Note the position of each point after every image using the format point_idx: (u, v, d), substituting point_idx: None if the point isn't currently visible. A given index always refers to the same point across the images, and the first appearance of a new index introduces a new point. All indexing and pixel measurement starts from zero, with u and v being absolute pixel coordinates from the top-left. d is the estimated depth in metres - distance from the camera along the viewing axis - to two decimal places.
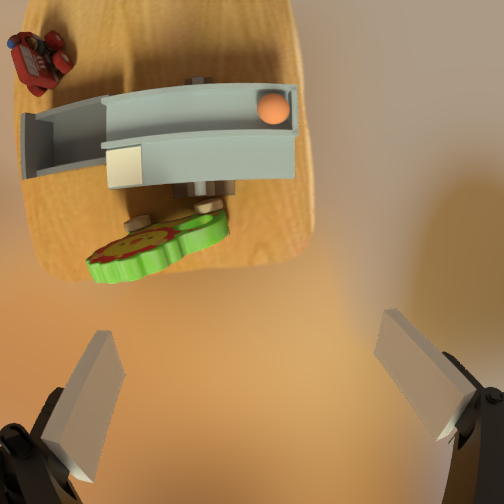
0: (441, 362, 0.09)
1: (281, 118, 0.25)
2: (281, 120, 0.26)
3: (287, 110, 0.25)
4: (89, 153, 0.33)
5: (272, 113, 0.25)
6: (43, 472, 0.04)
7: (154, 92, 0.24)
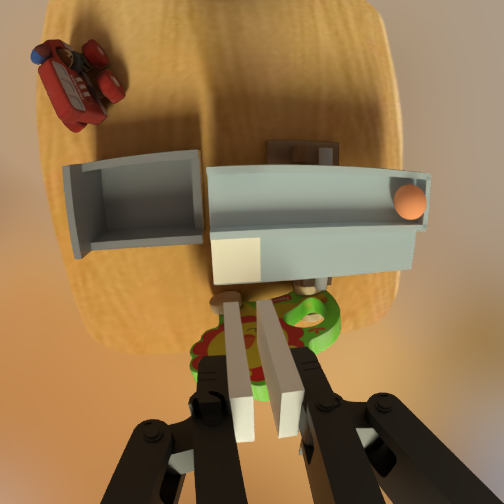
0: (280, 355, 0.10)
1: None
2: (418, 217, 0.23)
3: (425, 207, 0.22)
4: (158, 216, 0.30)
5: (415, 212, 0.22)
6: (231, 443, 0.07)
7: (285, 170, 0.21)
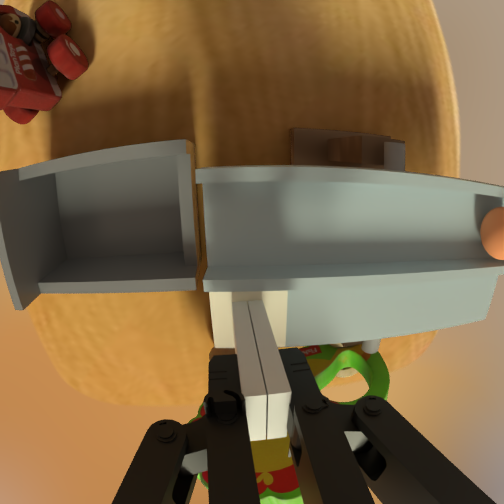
0: (268, 356, 0.10)
1: None
2: None
3: None
4: (133, 240, 0.20)
5: None
6: (245, 442, 0.07)
7: (336, 177, 0.11)
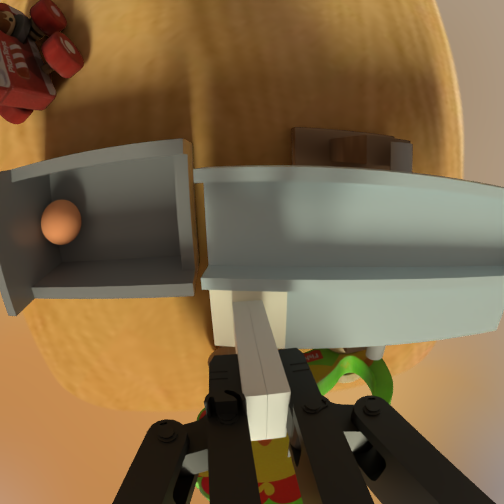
0: (268, 356, 0.10)
1: (66, 240, 0.16)
2: (68, 241, 0.17)
3: (71, 227, 0.16)
4: (129, 243, 0.20)
5: (51, 237, 0.16)
6: (245, 442, 0.07)
7: (334, 177, 0.11)
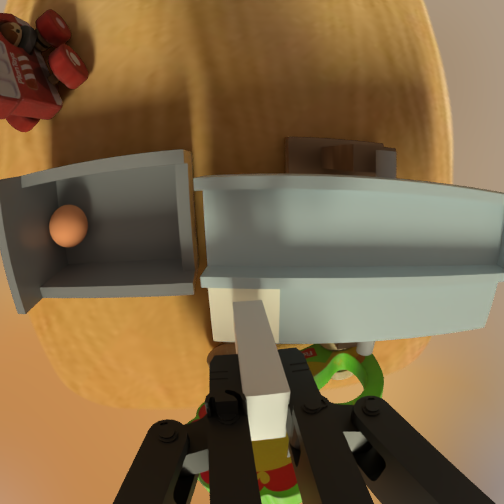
0: (267, 356, 0.10)
1: (74, 242, 0.18)
2: (76, 243, 0.18)
3: (79, 230, 0.18)
4: (132, 246, 0.21)
5: (60, 240, 0.17)
6: (246, 442, 0.07)
7: (321, 185, 0.12)
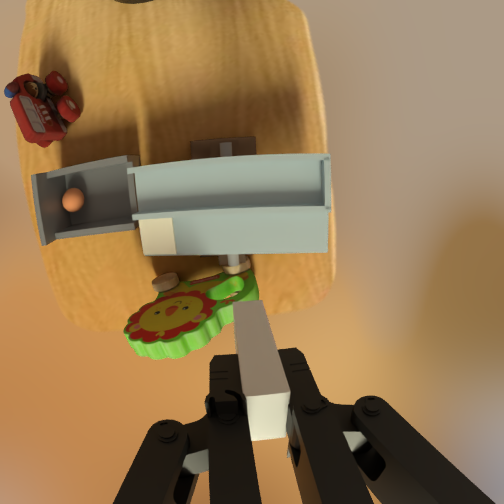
0: (267, 356, 0.10)
1: (77, 208, 0.32)
2: (77, 209, 0.32)
3: (80, 201, 0.32)
4: (108, 210, 0.35)
5: (69, 207, 0.31)
6: (246, 442, 0.07)
7: (179, 165, 0.26)
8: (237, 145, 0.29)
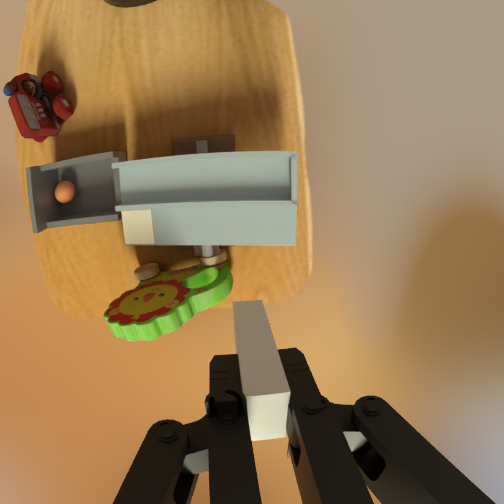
0: (267, 356, 0.10)
1: (68, 199, 0.33)
2: (69, 200, 0.33)
3: (71, 193, 0.33)
4: (96, 202, 0.36)
5: (61, 198, 0.32)
6: (246, 442, 0.07)
7: (157, 161, 0.28)
8: (213, 143, 0.30)
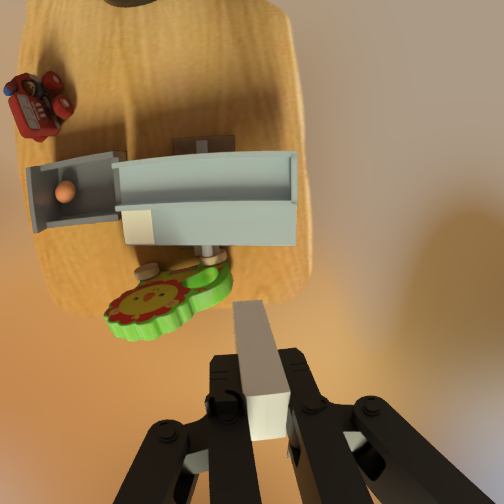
0: (267, 356, 0.10)
1: (69, 199, 0.33)
2: (69, 200, 0.34)
3: (72, 193, 0.33)
4: (96, 202, 0.36)
5: (62, 198, 0.32)
6: (246, 442, 0.07)
7: (157, 161, 0.28)
8: (213, 143, 0.30)
